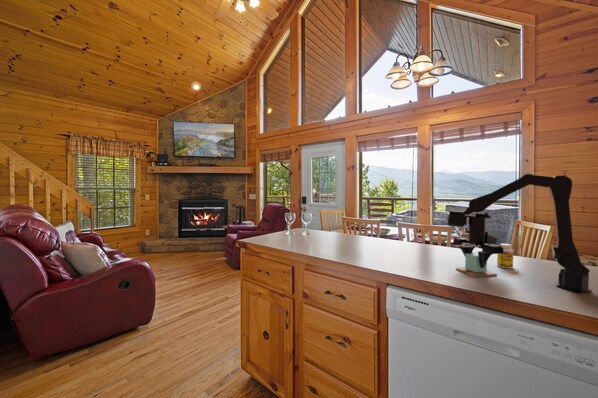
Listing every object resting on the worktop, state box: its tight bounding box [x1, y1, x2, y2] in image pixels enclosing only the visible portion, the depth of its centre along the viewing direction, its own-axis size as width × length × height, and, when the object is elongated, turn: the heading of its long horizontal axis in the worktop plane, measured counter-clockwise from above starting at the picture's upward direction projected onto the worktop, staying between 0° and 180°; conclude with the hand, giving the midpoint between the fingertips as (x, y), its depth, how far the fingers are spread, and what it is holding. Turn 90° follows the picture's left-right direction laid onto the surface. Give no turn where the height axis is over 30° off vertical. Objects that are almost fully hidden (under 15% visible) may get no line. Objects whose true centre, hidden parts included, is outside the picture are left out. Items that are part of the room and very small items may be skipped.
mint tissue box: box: [464, 252, 488, 272], centre depth 109 cm, size 5×5×7 cm
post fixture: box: [455, 266, 498, 278], centre depth 109 cm, size 10×10×6 cm
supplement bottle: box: [496, 243, 515, 269], centre depth 117 cm, size 6×6×10 cm
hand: (475, 265), depth 109 cm, fingers open, 6 cm apart
